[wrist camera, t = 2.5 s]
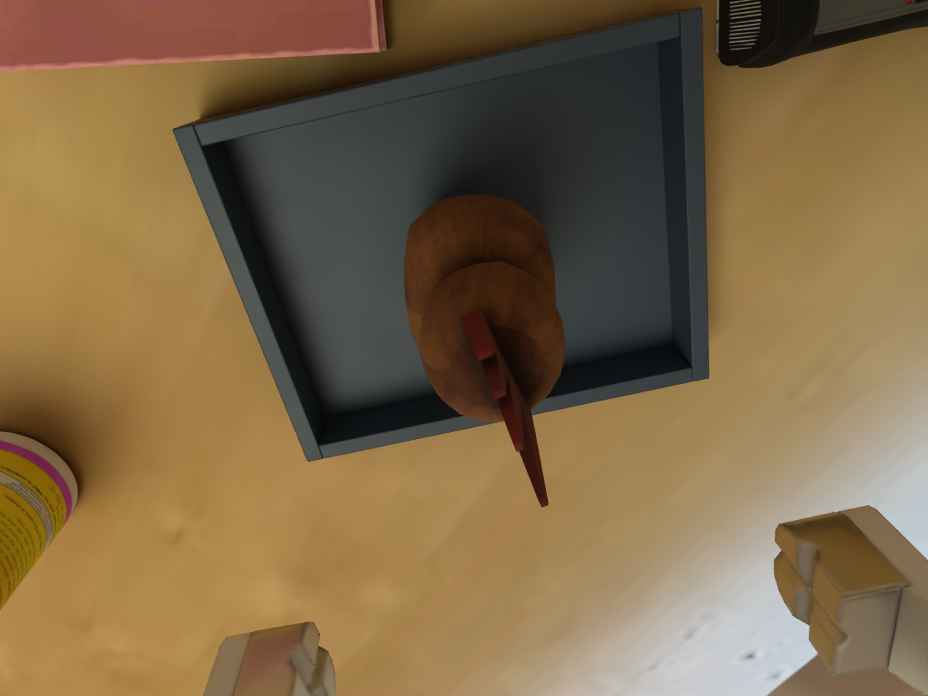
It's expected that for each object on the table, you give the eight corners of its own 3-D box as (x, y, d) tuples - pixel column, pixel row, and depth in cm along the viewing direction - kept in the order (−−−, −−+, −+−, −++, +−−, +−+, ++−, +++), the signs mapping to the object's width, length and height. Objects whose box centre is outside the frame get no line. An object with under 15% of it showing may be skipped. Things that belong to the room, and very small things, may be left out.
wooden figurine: (531, 316, 29) (626, 547, 16) (411, 322, 29) (405, 562, 16) (535, 172, 26) (655, 310, 13) (401, 178, 26) (381, 324, 13)
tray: (671, 10, 24) (702, 7, 21) (684, 349, 31) (709, 378, 29) (198, 119, 25) (171, 129, 22) (316, 427, 32) (307, 462, 29)
